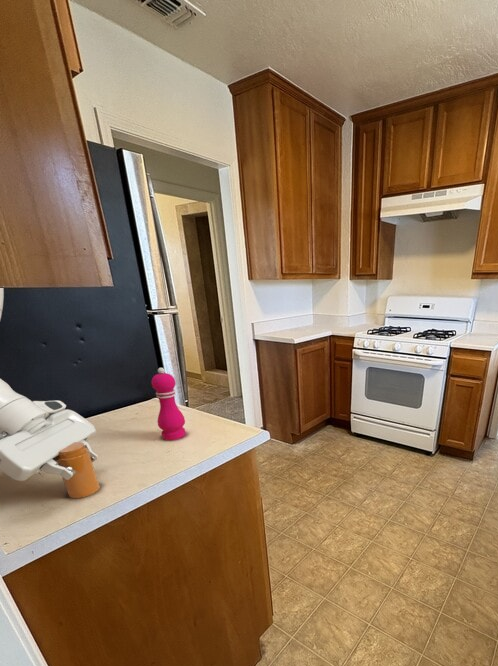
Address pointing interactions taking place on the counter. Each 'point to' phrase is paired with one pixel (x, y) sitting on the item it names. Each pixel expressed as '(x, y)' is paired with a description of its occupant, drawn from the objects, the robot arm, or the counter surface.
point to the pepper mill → (168, 406)
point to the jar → (78, 470)
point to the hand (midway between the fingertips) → (84, 467)
